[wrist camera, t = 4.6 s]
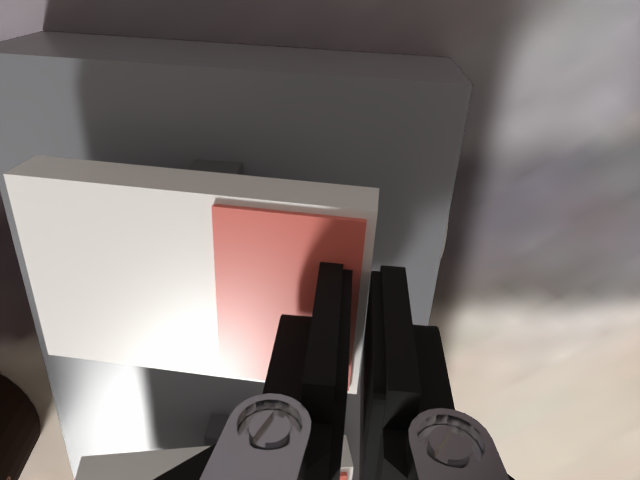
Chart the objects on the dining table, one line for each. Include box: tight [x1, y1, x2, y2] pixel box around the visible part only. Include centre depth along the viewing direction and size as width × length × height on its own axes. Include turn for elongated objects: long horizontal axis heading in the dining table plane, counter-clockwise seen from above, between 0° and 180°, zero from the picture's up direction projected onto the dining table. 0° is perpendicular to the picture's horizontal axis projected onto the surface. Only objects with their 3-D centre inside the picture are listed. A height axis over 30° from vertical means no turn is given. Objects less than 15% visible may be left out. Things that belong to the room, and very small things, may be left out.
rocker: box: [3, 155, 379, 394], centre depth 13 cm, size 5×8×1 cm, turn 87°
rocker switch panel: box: [0, 31, 473, 480], centre depth 18 cm, size 18×12×4 cm
